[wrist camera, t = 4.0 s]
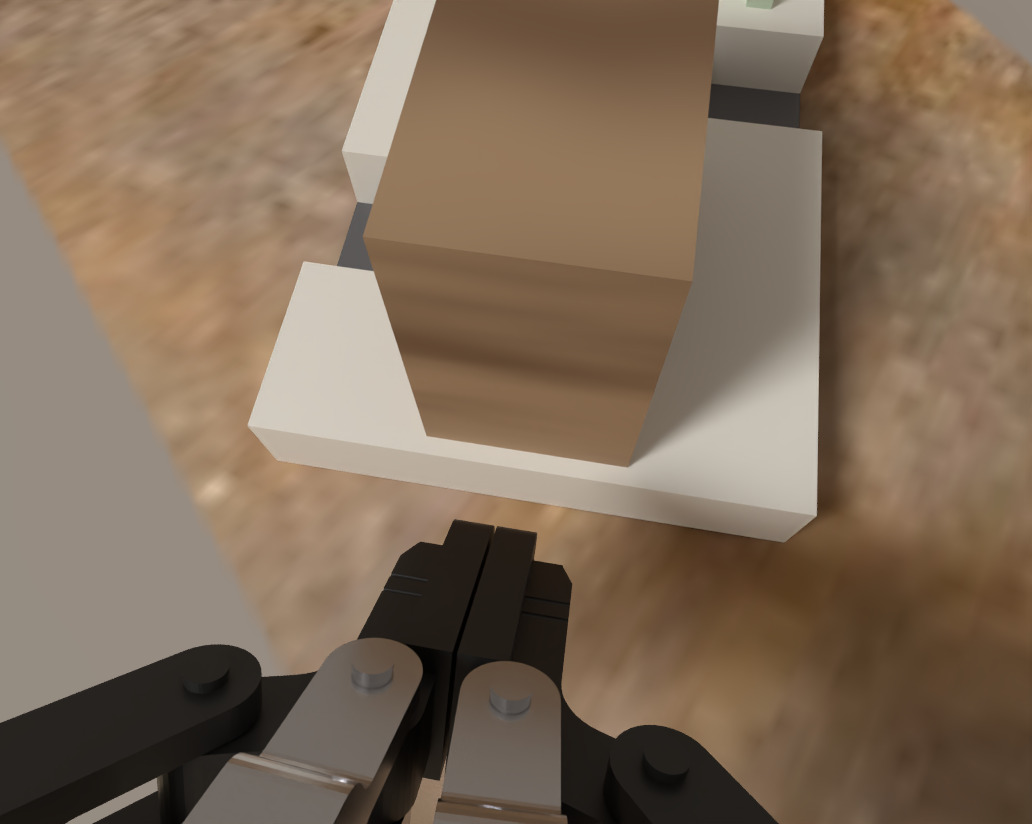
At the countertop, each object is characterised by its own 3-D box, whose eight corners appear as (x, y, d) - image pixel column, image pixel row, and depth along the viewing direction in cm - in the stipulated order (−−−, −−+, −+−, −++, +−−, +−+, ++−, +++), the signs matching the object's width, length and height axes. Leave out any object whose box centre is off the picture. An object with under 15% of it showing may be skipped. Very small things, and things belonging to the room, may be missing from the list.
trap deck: (783, 542, 20) (868, 473, 15) (277, 460, 21) (200, 370, 16) (801, -19, 29) (859, -180, 24) (442, -55, 30) (425, -216, 25)
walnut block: (627, 467, 19) (692, 281, 11) (426, 436, 19) (362, 237, 12) (665, 152, 23) (731, -137, 15) (499, 132, 23) (485, -159, 16)
